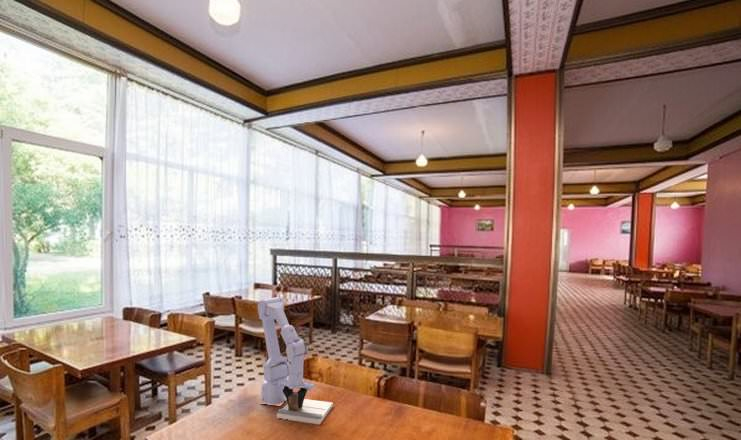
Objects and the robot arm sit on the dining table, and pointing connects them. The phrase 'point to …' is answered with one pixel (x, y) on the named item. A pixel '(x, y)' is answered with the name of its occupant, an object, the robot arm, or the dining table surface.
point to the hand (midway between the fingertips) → (295, 406)
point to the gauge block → (294, 402)
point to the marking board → (307, 412)
